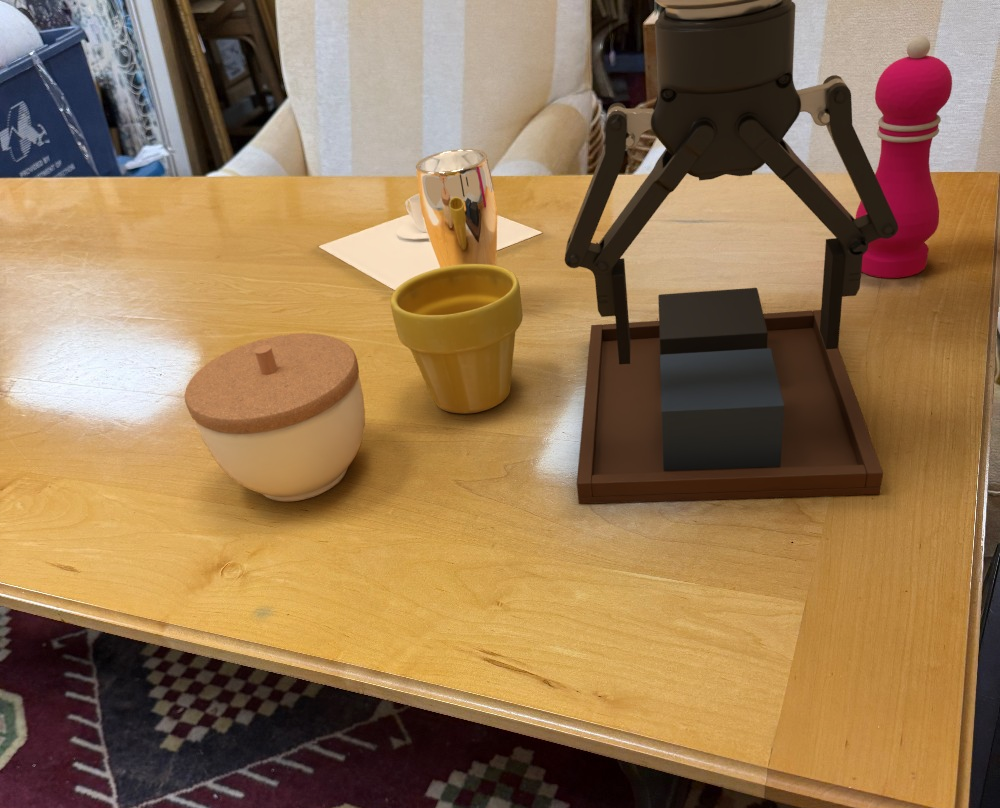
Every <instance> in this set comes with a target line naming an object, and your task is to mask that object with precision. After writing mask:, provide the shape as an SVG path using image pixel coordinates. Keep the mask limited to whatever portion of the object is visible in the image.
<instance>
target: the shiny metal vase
mask: <svg viewBox="0 0 1000 808" xmlns="http://www.w3.org/2000/svg"><path fill="white" fill-rule="evenodd" d="M489 164H490V163H489V159H488V154H487V153H486V152H484V150H480V149H473V148H461V149H459V148H457V149H451V150H446V151H441V152H437V153H433V154H431V155H428V156H426V157H424V158H422V159H420V160H419V161H418V162H417V163H416V165H415V170H416V176H417V188H418V194H419V197H420V204H421V211H422V216H423V220H424V225H425V228H426V232H427V235H428V238H429V241H430V244H431V247H432V249H433V252H434V255H435V257H436V260H437V263H438V265H439V268H443V267H447V266H454V265H462V264H488V265H494V266H497V251H498V250H497V215H498V209H497V199H496V193H495V188H494V182H493V179H492V172H491V169H490V165H489Z"/></svg>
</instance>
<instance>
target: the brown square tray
mask: <svg viewBox="0 0 1000 808" xmlns="http://www.w3.org/2000/svg"><path fill="white" fill-rule="evenodd" d="M763 315H764V319H765V323H766V328H767V332H768V338H767V348H771V351H772V356H773V360H774V364H775V368H776V373H777V377H778V381H779V386H780V390H781V394H782V398H783V403H784V417H783V433H782V450H781V466H780V467H761V468H733V469H706V470H679V471H664V470H663V441H662V410H661V378H660V332H659V320H646V321H631V322H630V321H629V331H630V364H619V356H618V343H617V331H616V322H614V323H603V324H602V323H601V324H591V325H590V334H589V344H588V354H587V355H588V356H587V357H588V358H587V366H586V367H587V368H586V379H585V389H584V400H583V401H584V402H583V410H582V422H581V433H580V443H579V444H580V445H579V454H578V455H579V456H578V466H577V475H576V477H577V478H576V491H577V499H578V504H579V505H584V504H613V503H614V504H615V503H644V502H645V503H647V502H649V503H650V502H674V501H676V502H677V501H707V500H738V499H739V500H742V499H768V498H772V499H773V498H774V499H775V498H803V497H833V496H835V497H836V496H862V495H863V496H864V495H865V496H866V495H880V494H881V490H882V487H881V486H882V482H883V476H884V472H883V469H882V466H881V464H880V461H879V458H878V455H877V452H876V449H875V447H874V444H873V441H872V438H871V435H870V433H869V429H868V428H867V427H868V426H867V425H866V421H865V419H864V417H863V416H864V415H863V413H862V410H861V409H860V405H859V402H858V399H857V396H856V394H855V391H854V388H853V385H852V383H851V380H850V377H849V374H848V372H847V368H846V366H845V363H844V361H843V357H842V355H841V352H840V350H839V348H838V349H826V347H825V344H824V341H823V338H822V335H821V332H820V320H821V309H815V310H813V309H812V310H797V311H796V310H795V311H784V312H780V311H779V312H767V313H765V312H764V313H763Z"/></svg>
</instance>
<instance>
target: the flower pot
mask: <svg viewBox="0 0 1000 808" xmlns="http://www.w3.org/2000/svg"><path fill="white" fill-rule="evenodd" d="M389 303H390V309H391V314H392V317H393V323H394V327H395V330H396V335H397V336H398V337H397V338H398V340H399V341H400V343H401V344H402V345H403V346H404V347H405V348H408V349H409V350H410V352H411V354H412V356H413V358H414V360H415V363H416V365H417V367H418V370H419V372H420V374H421V375H422V378H423V380H424V382H425V385H426V387H427V389H428V391H429V393H430V395H431V398H432V399H433V402H434V403H435V405H436V406H437V407H438V408H440V409H441V410H443V411H445V412H448V413H453V414H462V415H463V414H477V413H480V412H484V411H488V410H490V409H493V408H494V407H496V406H499V405H500V404H501V403H503V402H504V401H506V399H507V398H508V396H509V394H510V392H511V384H512V374H513V362H514V350H515V339H516V332H517V330H518V329H519V327H520V326H521V325H522V321H523V305H522V293H521V287H520V281H519V279H518V277H517V275H516V274H514V272H512V271H511V270H509V269H507V268H505V267H502V266H499V265H496V266H494V265H488V264H462V265H454V266H447V267H443V268H438V269H434V270H431V271H428V272H425V273H422V274H420V275H417V276H415V277H413V278H411V279H409V280H407V281H406V282H404V283H403V284H401V285H400V286H399V287H398V288H397V289H396V290H393V292H392V294H391V295H390V301H389Z"/></svg>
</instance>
